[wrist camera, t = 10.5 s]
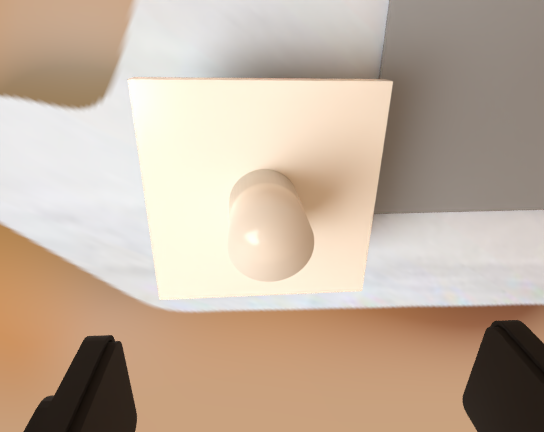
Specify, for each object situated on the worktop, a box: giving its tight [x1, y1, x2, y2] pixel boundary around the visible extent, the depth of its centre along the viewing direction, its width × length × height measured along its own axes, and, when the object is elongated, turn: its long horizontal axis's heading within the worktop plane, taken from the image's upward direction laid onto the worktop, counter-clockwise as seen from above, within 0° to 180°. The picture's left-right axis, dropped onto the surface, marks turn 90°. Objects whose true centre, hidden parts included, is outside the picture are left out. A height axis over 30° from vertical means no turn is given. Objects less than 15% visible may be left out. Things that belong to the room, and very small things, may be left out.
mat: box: [373, 0, 544, 214], centre depth 25 cm, size 16×16×1 cm
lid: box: [128, 77, 393, 300], centre depth 18 cm, size 12×12×6 cm
